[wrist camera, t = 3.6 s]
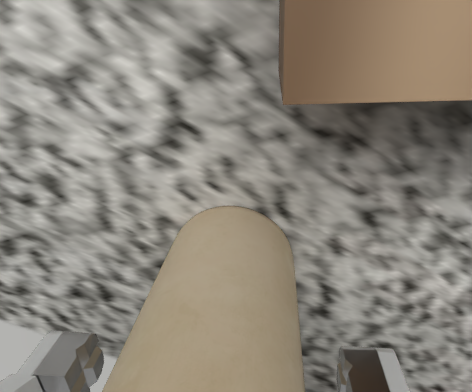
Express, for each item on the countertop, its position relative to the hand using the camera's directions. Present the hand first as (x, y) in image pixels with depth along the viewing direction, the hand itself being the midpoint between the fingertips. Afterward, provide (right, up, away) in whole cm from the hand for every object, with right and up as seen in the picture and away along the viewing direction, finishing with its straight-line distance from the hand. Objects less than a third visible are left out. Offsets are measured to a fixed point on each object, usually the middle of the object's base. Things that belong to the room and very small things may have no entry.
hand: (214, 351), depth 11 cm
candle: (+1, +2, +5) cm, 5 cm away
